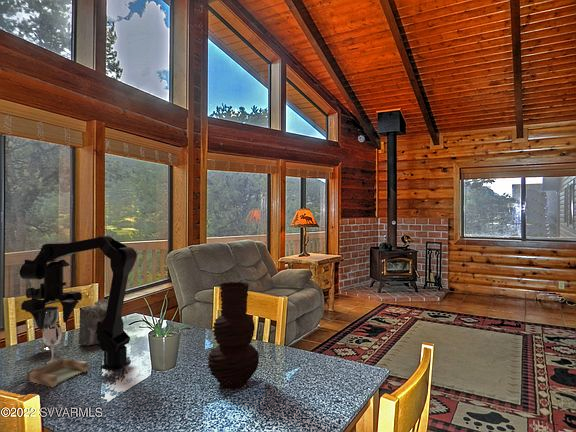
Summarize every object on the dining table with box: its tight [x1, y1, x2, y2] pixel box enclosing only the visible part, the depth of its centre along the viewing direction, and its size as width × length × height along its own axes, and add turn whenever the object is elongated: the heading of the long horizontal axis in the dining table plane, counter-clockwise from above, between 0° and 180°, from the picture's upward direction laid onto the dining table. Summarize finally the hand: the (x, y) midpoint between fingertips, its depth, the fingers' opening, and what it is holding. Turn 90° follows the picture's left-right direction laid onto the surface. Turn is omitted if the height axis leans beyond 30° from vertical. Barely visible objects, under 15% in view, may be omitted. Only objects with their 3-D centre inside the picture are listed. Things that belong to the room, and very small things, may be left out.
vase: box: [207, 281, 260, 391], centre depth 116 cm, size 15×15×30 cm
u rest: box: [26, 357, 89, 388], centre depth 120 cm, size 10×12×3 cm
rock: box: [77, 299, 109, 346], centre depth 157 cm, size 21×16×10 cm
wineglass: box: [42, 324, 63, 363], centre depth 131 cm, size 6×6×12 cm
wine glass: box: [33, 305, 60, 351], centre depth 144 cm, size 8×8×15 cm
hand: (53, 325), depth 132 cm, fingers open, 9 cm apart
